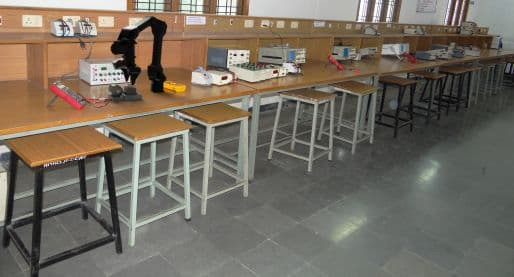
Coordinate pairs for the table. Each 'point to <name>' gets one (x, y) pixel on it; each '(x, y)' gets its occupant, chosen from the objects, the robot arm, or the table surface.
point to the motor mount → (121, 94)
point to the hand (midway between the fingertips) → (129, 83)
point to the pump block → (129, 90)
